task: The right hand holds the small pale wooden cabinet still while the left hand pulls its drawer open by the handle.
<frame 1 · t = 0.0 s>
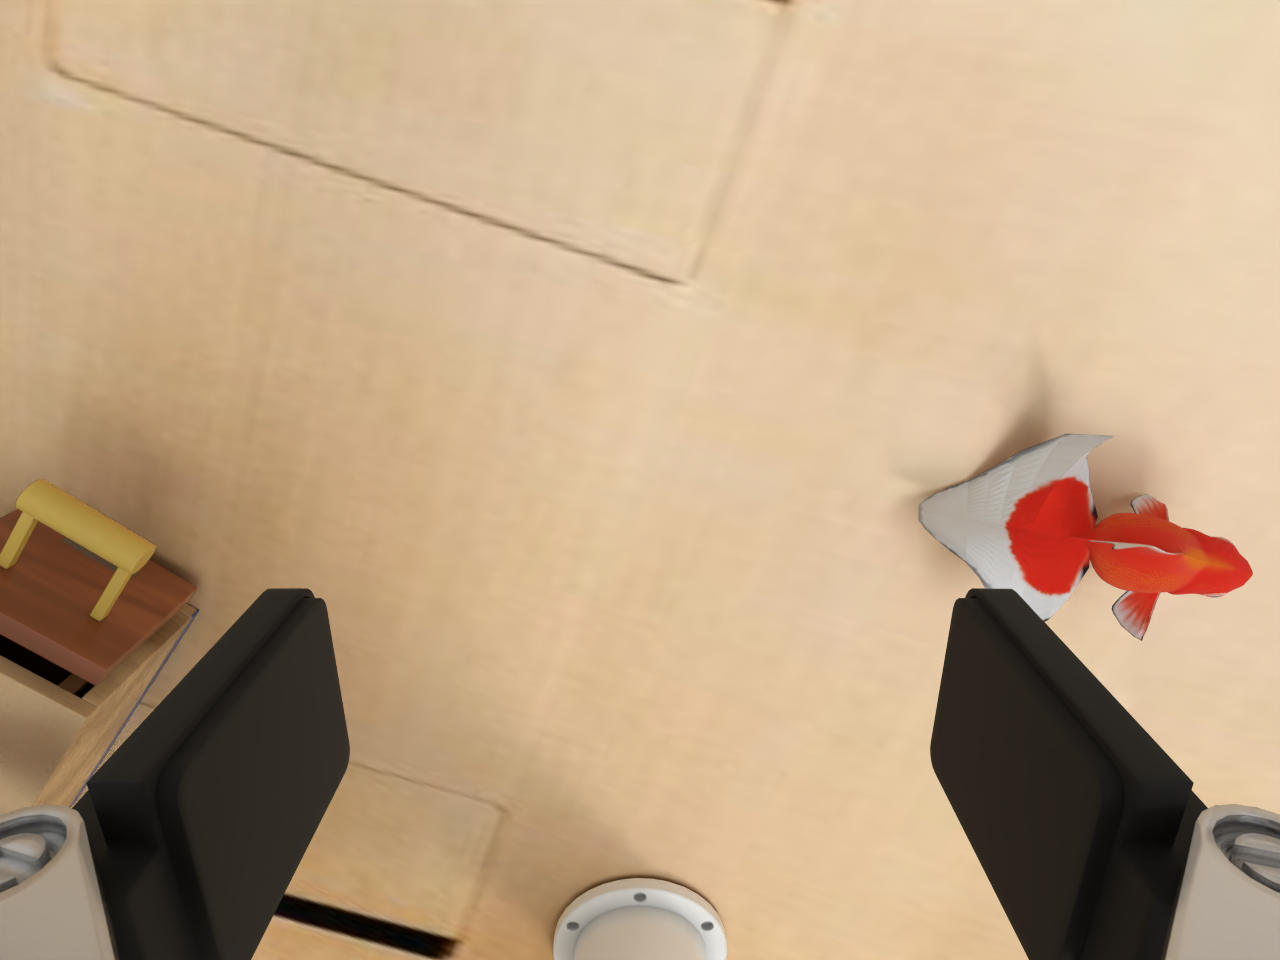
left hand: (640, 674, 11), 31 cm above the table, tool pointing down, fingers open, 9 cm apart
cabinet: (53, 668, 48), on the table
fish: (1037, 515, 45), on the table
drawer: (26, 656, 42), point 5 cm above the table, slide at 1.0 cm
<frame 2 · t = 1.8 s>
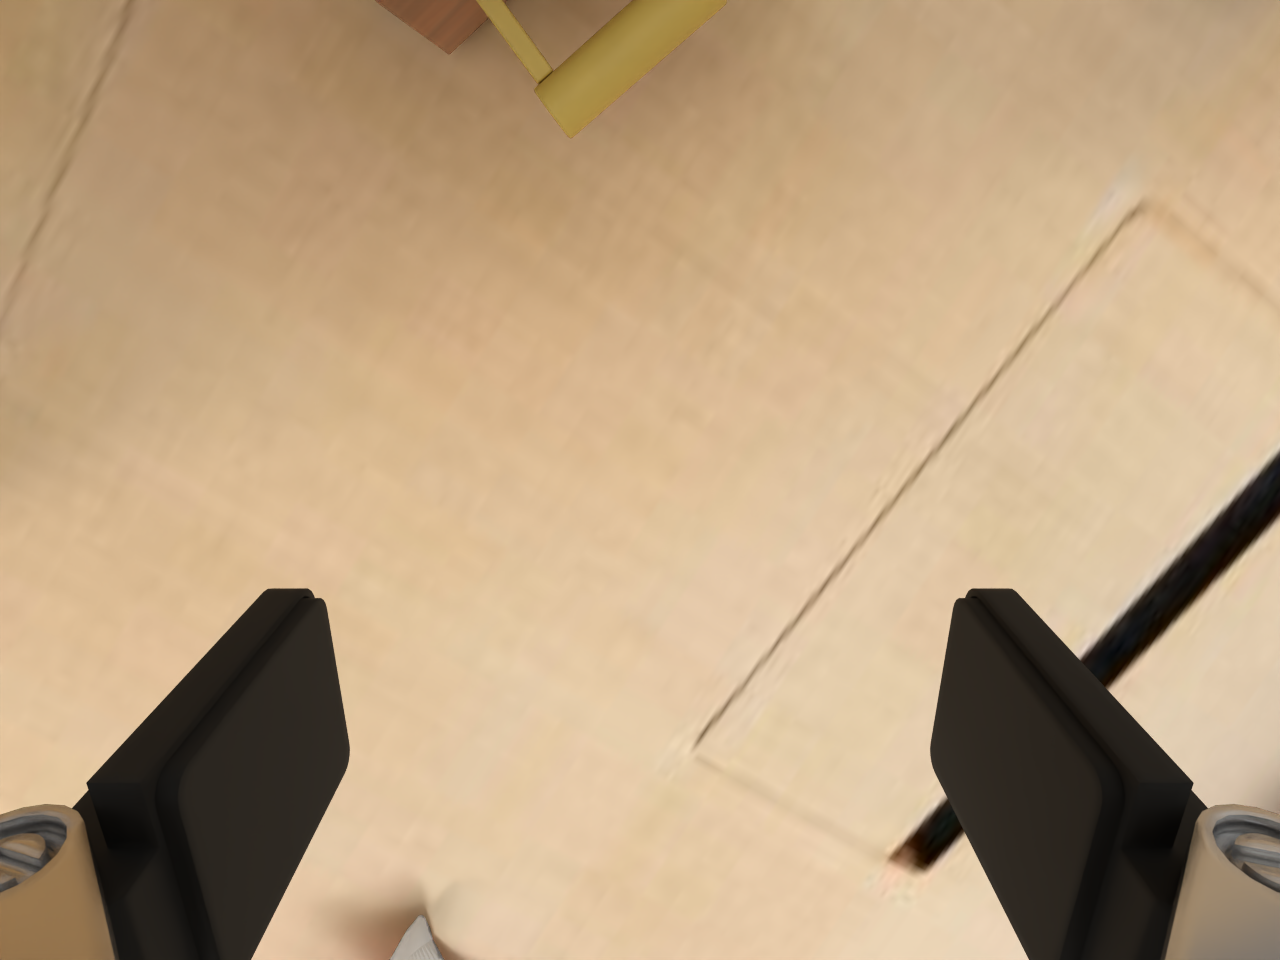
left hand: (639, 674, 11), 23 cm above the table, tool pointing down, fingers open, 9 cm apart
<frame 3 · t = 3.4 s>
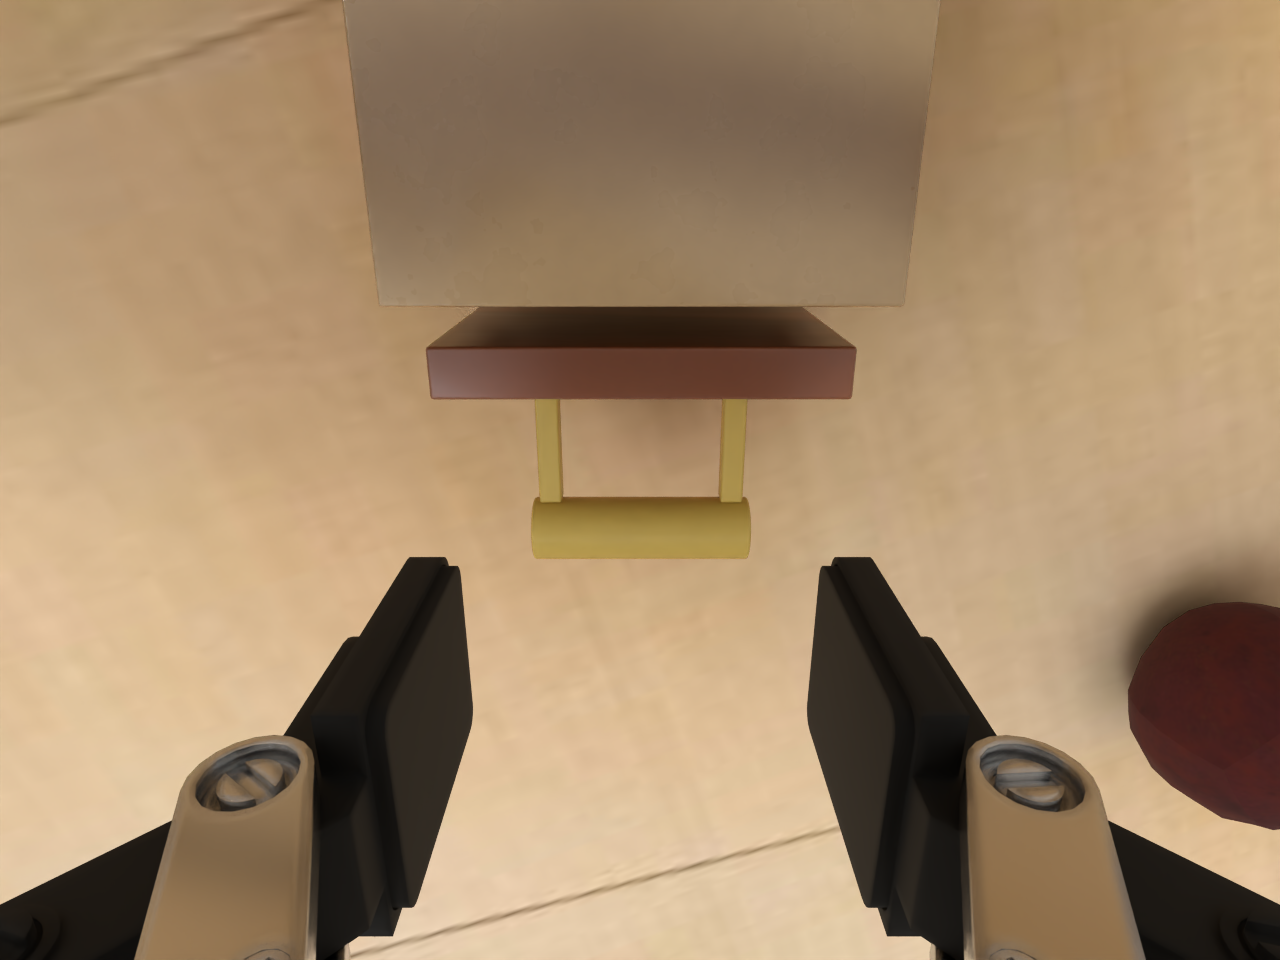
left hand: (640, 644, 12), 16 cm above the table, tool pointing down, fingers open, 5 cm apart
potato: (1184, 652, 31), on the table
drawer: (641, 113, 19), point 5 cm above the table, slide at 1.0 cm
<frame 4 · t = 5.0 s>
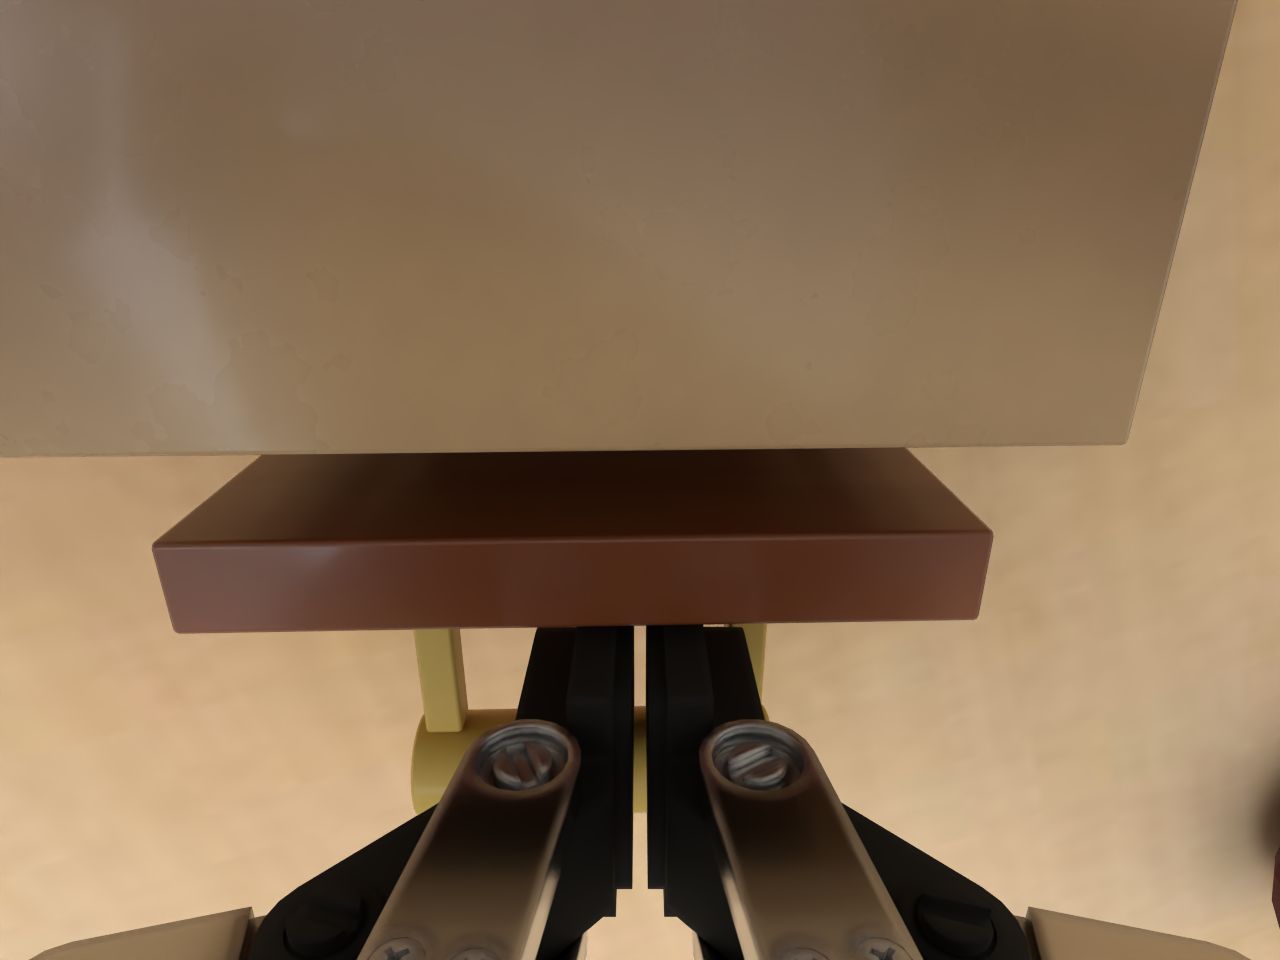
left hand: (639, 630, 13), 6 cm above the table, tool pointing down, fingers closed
drawer: (580, 79, 11), point 5 cm above the table, slide at 1.4 cm
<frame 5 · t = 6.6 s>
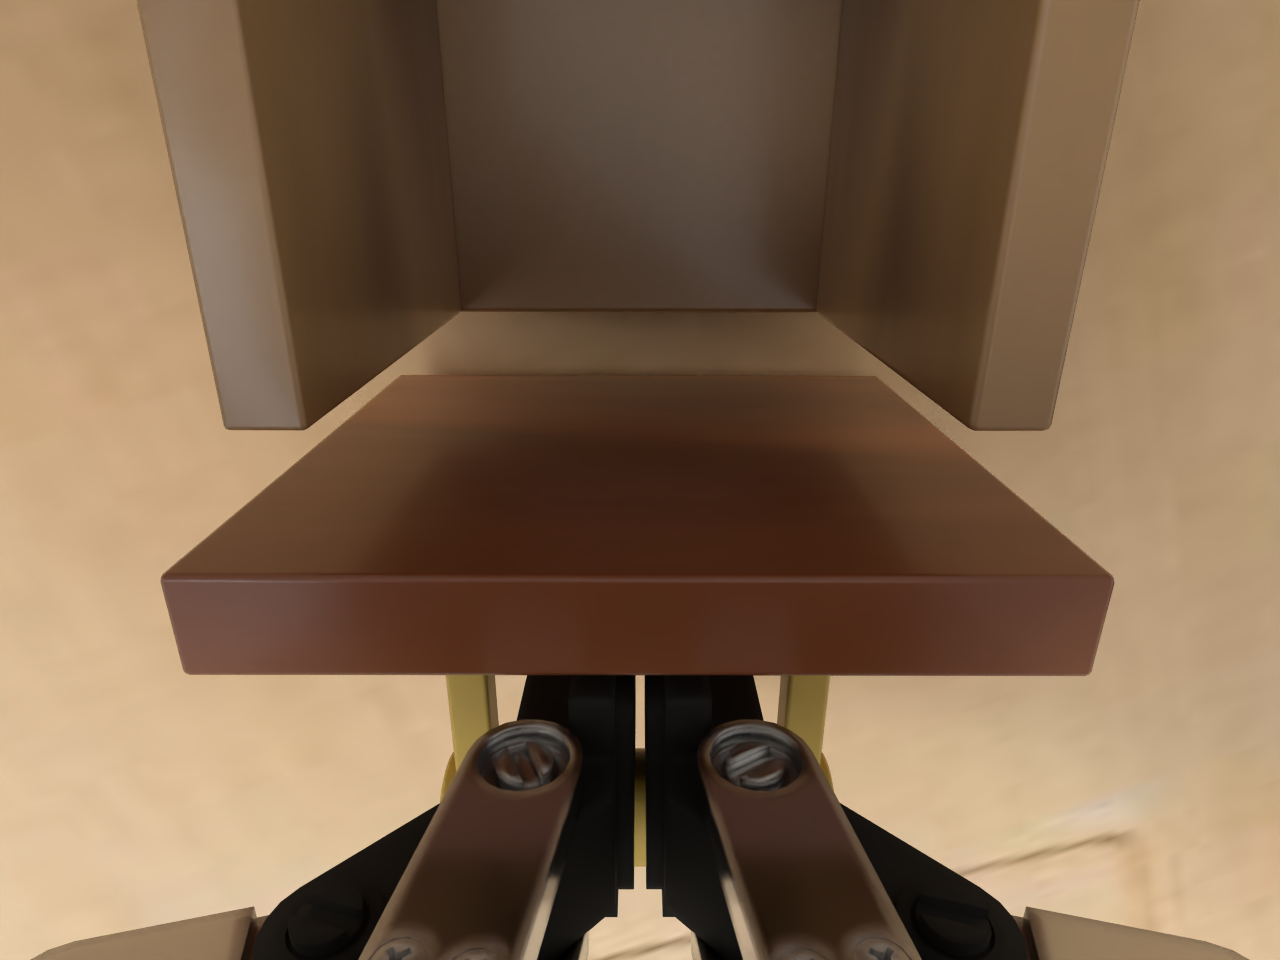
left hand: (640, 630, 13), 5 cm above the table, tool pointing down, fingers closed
drawer: (639, 64, 10), point 5 cm above the table, slide at 9.8 cm, touching left hand
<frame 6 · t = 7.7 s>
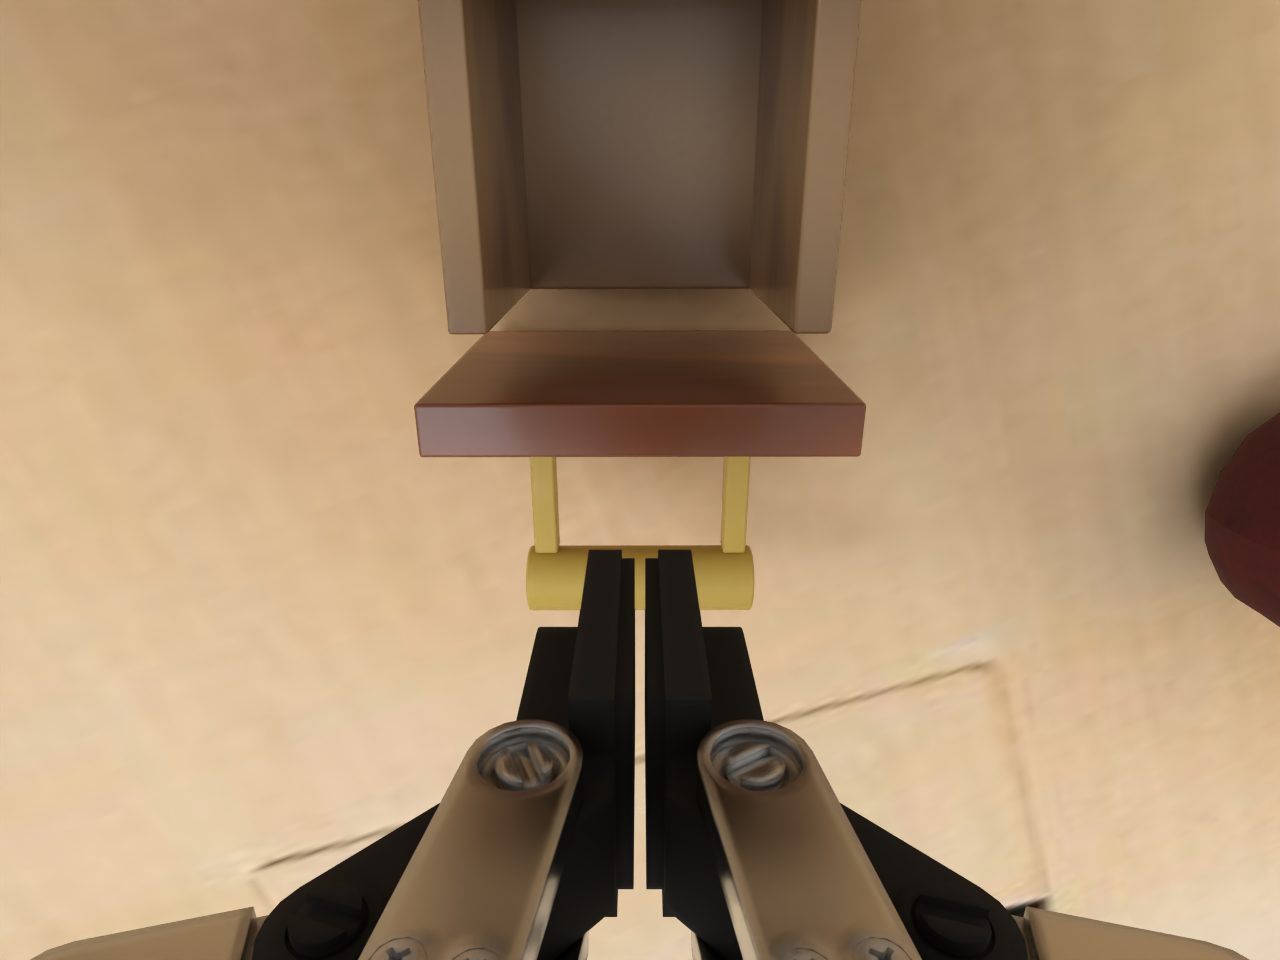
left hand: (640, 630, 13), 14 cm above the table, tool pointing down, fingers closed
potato: (1265, 477, 26), on the table
drawer: (639, 152, 18), point 5 cm above the table, slide at 9.8 cm
when the right hand's fingers open (6 cm above the table, at t = 8.3 s): cabinet stays where it is, on the table.
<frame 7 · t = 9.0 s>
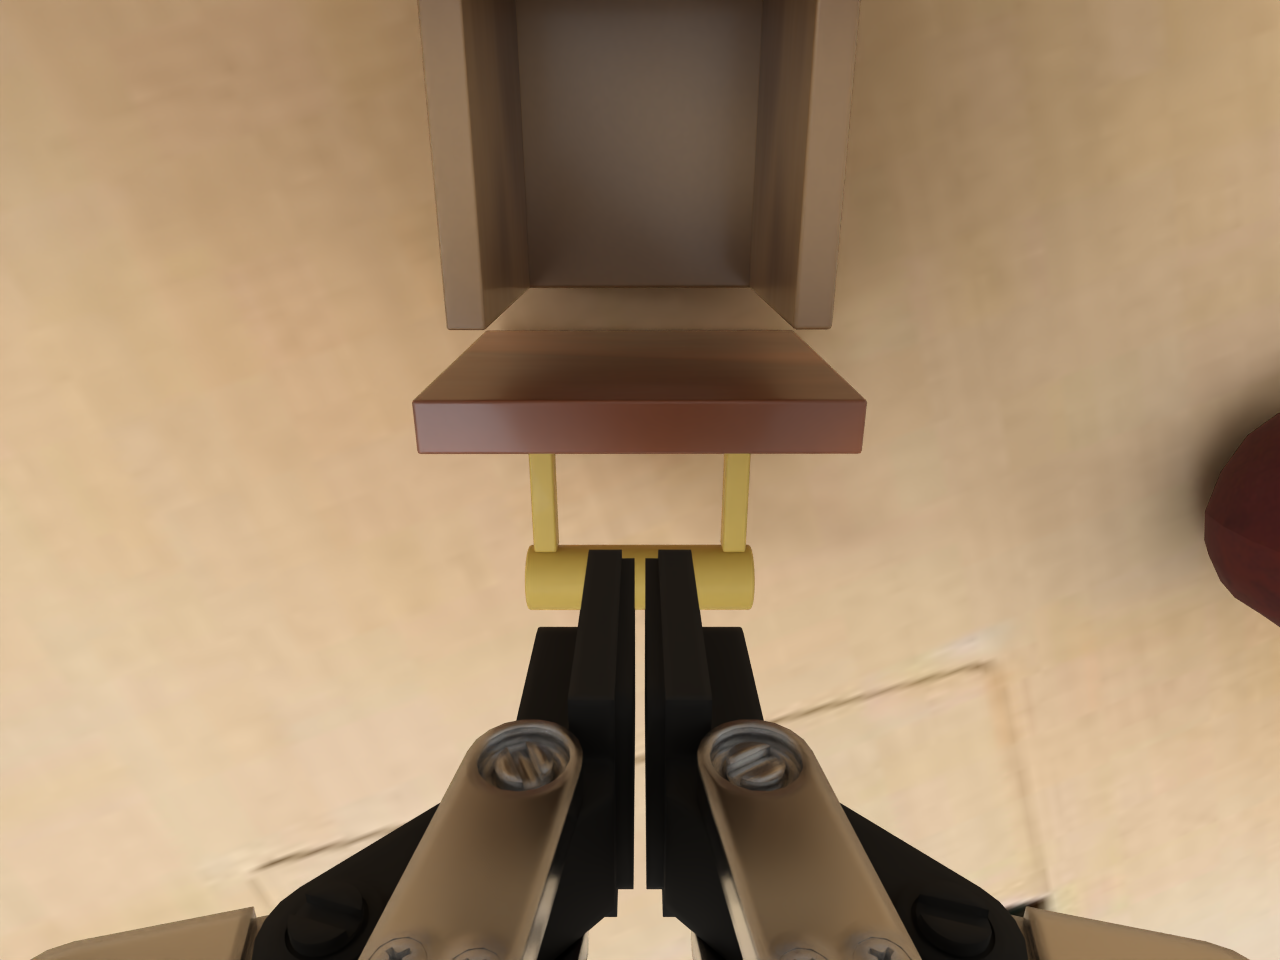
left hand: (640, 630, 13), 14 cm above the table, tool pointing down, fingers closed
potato: (1265, 477, 26), on the table
drawer: (639, 149, 18), point 5 cm above the table, slide at 9.8 cm
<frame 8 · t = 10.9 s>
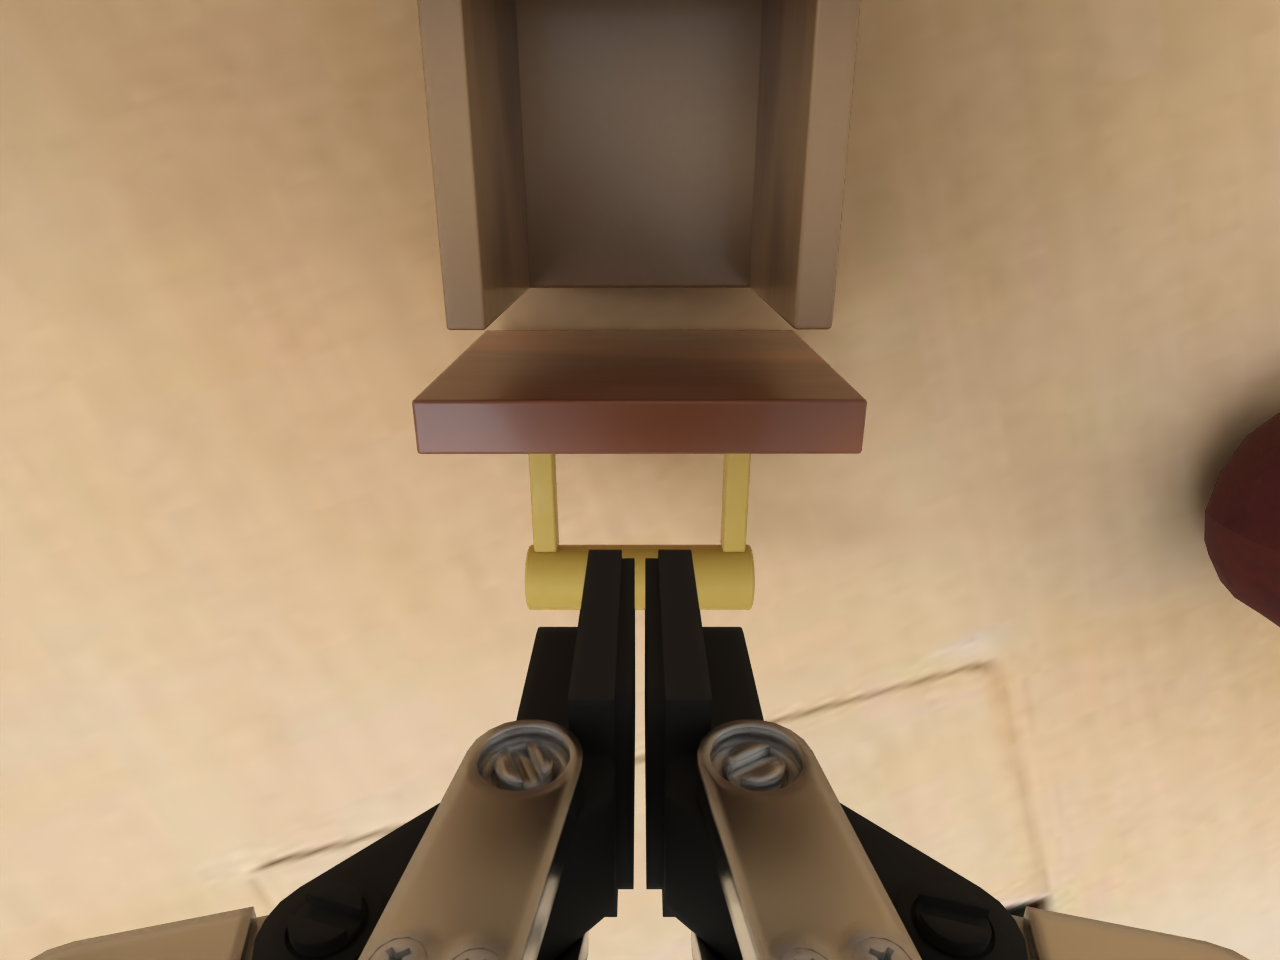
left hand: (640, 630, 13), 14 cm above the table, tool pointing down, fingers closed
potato: (1265, 477, 26), on the table
drawer: (639, 149, 18), point 5 cm above the table, slide at 9.8 cm
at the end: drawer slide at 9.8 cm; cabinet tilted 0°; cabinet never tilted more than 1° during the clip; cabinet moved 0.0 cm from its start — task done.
